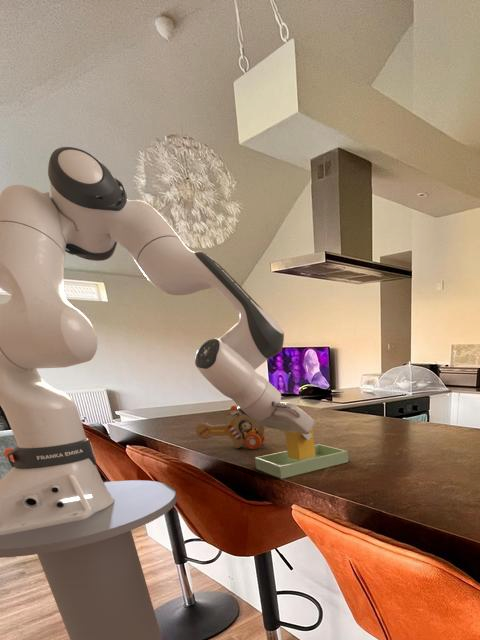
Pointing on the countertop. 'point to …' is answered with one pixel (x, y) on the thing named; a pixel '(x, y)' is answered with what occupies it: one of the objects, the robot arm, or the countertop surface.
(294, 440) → the yellow block with ball
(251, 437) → the toy helicopter
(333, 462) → the tray
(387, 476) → the countertop surface
